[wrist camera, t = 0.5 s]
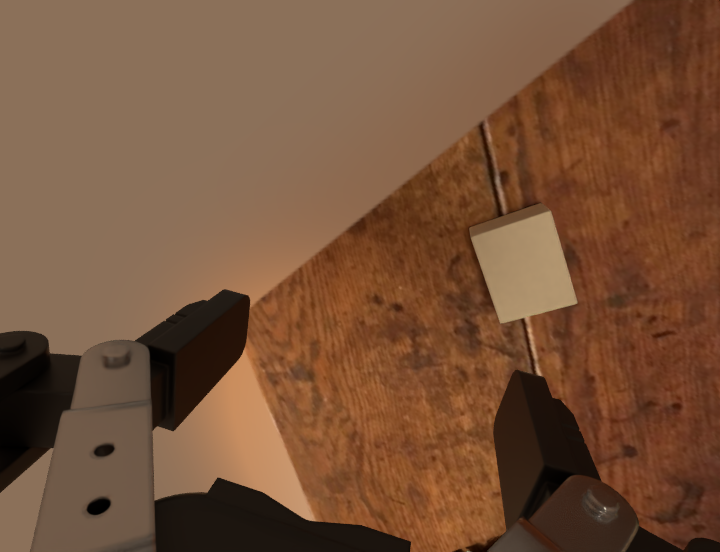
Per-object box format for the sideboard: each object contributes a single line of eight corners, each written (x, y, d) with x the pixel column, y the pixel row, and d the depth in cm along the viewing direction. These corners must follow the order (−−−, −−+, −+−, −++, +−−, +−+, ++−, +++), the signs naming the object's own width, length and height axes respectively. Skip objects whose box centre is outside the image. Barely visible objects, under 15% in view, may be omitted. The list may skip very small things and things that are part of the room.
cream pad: (468, 227, 27) (470, 237, 25) (541, 202, 26) (551, 210, 23) (496, 307, 29) (500, 324, 26) (566, 288, 27) (578, 304, 25)
